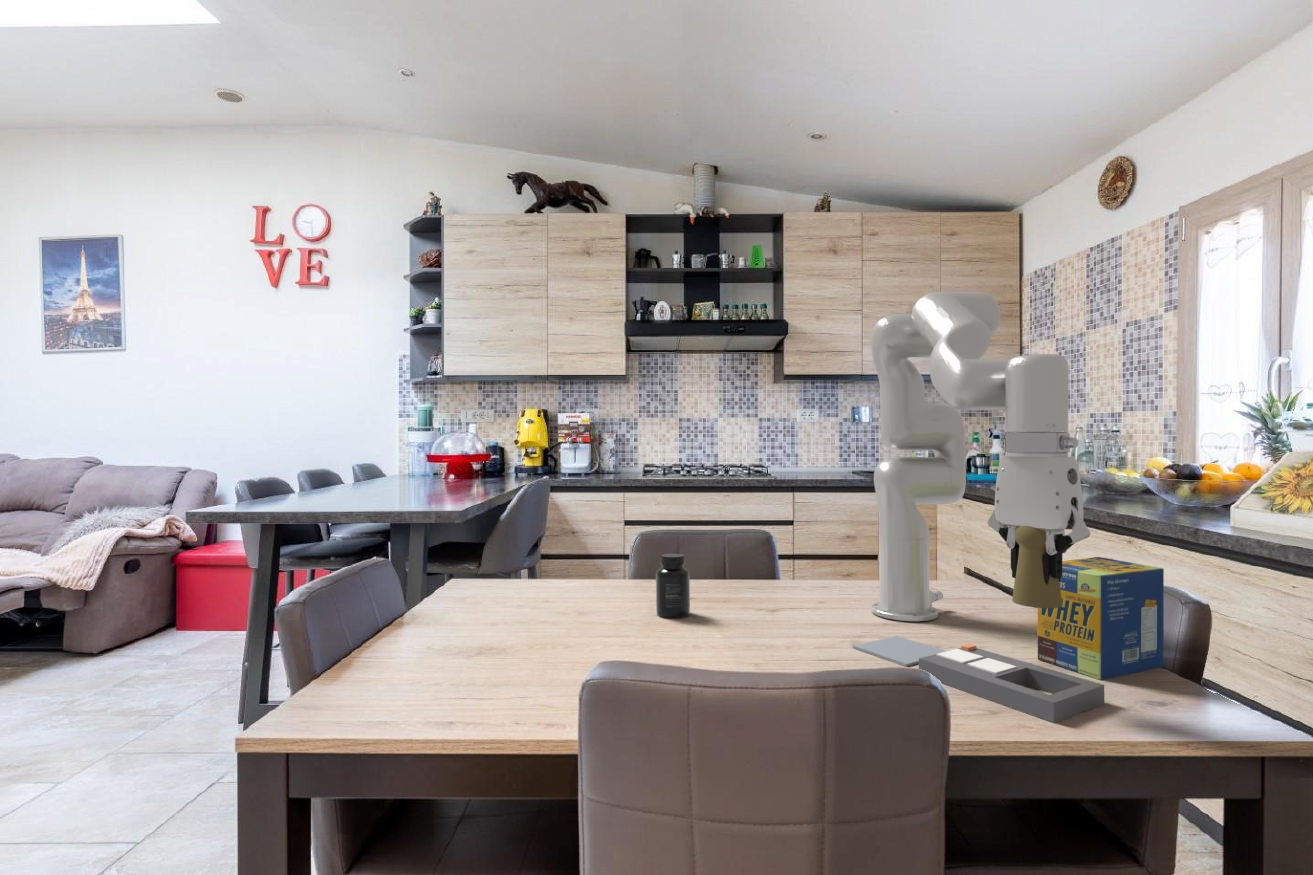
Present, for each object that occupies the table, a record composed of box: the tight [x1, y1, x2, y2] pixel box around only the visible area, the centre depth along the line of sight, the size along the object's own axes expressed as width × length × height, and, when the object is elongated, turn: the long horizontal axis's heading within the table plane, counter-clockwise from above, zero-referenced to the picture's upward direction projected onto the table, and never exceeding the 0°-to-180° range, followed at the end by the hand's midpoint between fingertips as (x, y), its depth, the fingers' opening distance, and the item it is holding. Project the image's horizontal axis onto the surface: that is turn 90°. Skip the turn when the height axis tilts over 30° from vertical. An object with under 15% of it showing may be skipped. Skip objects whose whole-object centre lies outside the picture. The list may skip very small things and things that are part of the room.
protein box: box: [1036, 556, 1165, 681], centre depth 107 cm, size 10×15×16 cm
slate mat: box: [852, 635, 947, 667], centre depth 113 cm, size 11×11×1 cm
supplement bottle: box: [655, 553, 691, 619], centre depth 138 cm, size 7×7×12 cm
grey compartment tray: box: [918, 643, 1105, 724], centre depth 96 cm, size 12×20×3 cm, turn 30°
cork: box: [1011, 526, 1063, 609], centre depth 93 cm, size 6×6×11 cm
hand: (1035, 578), depth 93 cm, fingers closed on cork, 3 cm apart
